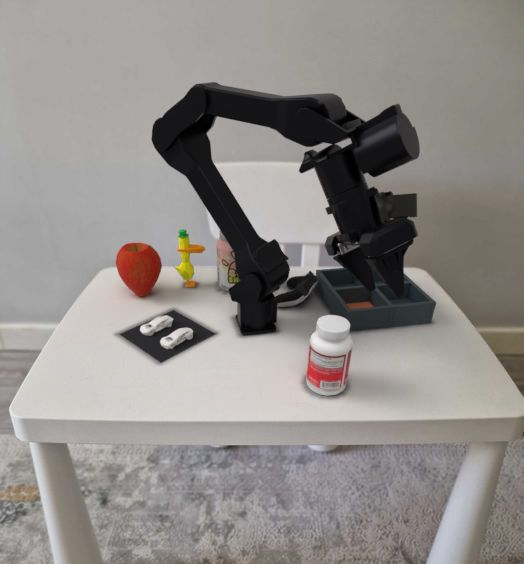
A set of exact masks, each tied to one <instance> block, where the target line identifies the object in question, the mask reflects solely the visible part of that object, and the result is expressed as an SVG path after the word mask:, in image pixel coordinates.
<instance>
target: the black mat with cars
mask: <svg viewBox="0 0 524 564" xmlns="http://www.w3.org/2000/svg"><path fill="white" fill-rule="evenodd" d="M119 335H120V336H121V337H123V338H124V339H126V340H127V341H129V342H130V343H131V344H133V345H135V346H136V347H137V348H139V349H140V350H142V351H143V352H145V353H146V354H147V355H149V356H151V357H152V358H154V359H155V360H157V362H159V363H163V362H164V361H166V360H168V359H170V358H172V357H174V356H176V355H178V354H181V352H184V351H186V350H187V349H189V348H191V347H193V346H195V345H197V344H199V343H200V342H202V341H204V340H207V339H208V338H210V337H212V336H214V335H216V332H213V331H211V330H210V329H208V328H206V327H205V326H202V325H201V324H199V323H197V322H196V321H194V320H192V319H191V318H188V317H187V316H185V315H183V314H182V313H180V312H178V311H176V310H175V309H172V310H170V311H168V312H166V313H163V314H161V315H159V316H157V317H155V318H152V319H150V320H148V321H146V322H143V323H141V324H139V325H136V326H133V327H132V328H130V329H127V330H126V331H123V332H121V333H119Z"/></svg>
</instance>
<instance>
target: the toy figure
mask: <svg viewBox="0 0 524 564" xmlns="http://www.w3.org/2000/svg"><path fill="white" fill-rule="evenodd" d="M178 233H179V234H178V235H177V238H178V247H177V248H176V249H177V252H179V253H180V257H181V263H180V264H179V265H173V267H174V268H175V270H176V271H177V272H178V274H179V275H180V276H181V278H182V279H183V281H186V283H185V285H184V286H185V288H195V287H196V283H197V282H196V280H195V281H194V280H191V279H192V278H193V276H194V275H195V267H194V265H193V264H192V262H190V260H191V259H190V258H191V254H202V253H203V252H204V251H206V246H204V245H202V244H194V243H193V244H192V243H190V234H189V233H187V229H186V228H182V229H179V230H178Z"/></svg>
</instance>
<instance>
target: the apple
mask: <svg viewBox="0 0 524 564" xmlns="http://www.w3.org/2000/svg"><path fill="white" fill-rule="evenodd" d="M115 267H116V270H117V274H118V276H119V277H120V278H121V281H122V283H123V284H124V285H125V286H126V287H127V288H128V290H129V291H131V292H132V293H133V294H134V295H136V296H138V297H147V296H148V295H149V294H150V293H151V292H152V290H153V288H154V287H155V285H156V283H157V281H158V280H159V277H160V275H161V272H162V267H163V264H162V259H161V256H160V254H159V253H158V251H157V250H156V249H155V248H154V247H153V246H152V245H150V244H147V243H144V242H129V243H126V244H123V245H122V246H121V247H120V248H119V249H118V252H117V254H116V258H115Z"/></svg>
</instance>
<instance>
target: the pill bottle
mask: <svg viewBox="0 0 524 564" xmlns="http://www.w3.org/2000/svg"><path fill="white" fill-rule="evenodd" d="M315 329H316V330H315V331H313V333H312V334H311V336H310V339H309V347H308V357H307V358H308V359H307V369H306V384H307V386H308V388H309V389H310V390H311V391H312V392H314V393H315V394H317V395H322V396H335V395H338V394H340V393H342V392H343V391H344V390H345V389H346V387H347V383H348V376H349V372H350V371H349V370H350V365H351V359H352V358H351V357H352V351H353V346H354V345H353V338H352V337H351V335H350V332H351V331H350V323H349V321H348V320H347V319H345V318H344V317H341V316H337V315H333V314H326V315H323V316H321V317H319V318H318V319H317V321H316V328H315Z"/></svg>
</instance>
